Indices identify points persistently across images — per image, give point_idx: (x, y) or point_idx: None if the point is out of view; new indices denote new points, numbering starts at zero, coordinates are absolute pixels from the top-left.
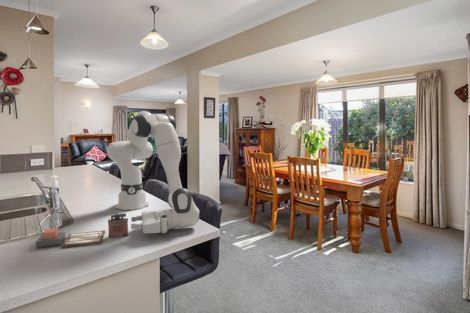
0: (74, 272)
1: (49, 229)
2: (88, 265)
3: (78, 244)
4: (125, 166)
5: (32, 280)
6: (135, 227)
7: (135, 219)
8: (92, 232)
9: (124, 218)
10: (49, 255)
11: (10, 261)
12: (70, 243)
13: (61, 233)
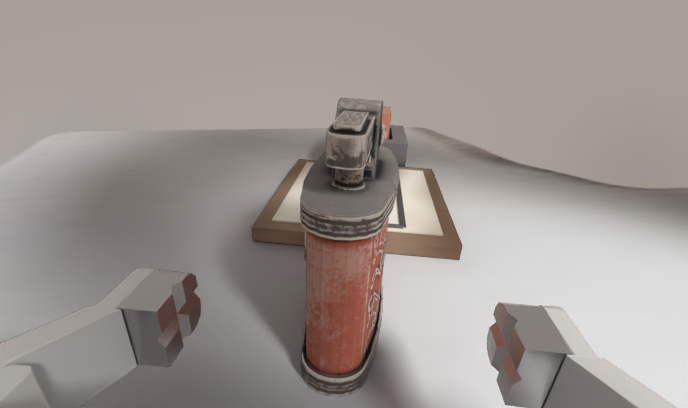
0: (17, 182)
1: (384, 108)
2: (20, 204)
3: (283, 181)
4: None
5: (99, 145)
6: (110, 347)
7: (529, 382)
8: (430, 208)
9: (370, 198)
10: (256, 157)
11: (274, 131)
12: (307, 168)
13: (389, 140)
